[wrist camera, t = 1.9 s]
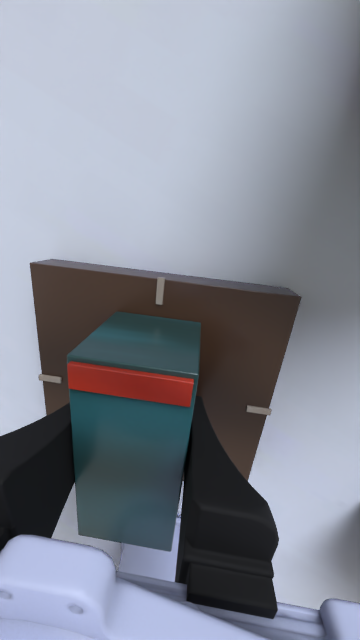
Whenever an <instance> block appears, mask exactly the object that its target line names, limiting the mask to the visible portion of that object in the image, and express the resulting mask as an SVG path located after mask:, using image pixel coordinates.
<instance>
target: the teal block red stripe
mask: <svg viewBox="0 0 360 640" xmlns="http://www.w3.org/2000/svg"><path fill="white" fill-rule="evenodd" d="M200 337H201V323H200V322H192V321H185V320H177V319H170V318H163V317H155V316H148V315H140V314H133V313H125V312H118V311H117V312H115V313H114V314H113V315H112V316H111V317H110V318H108V319H107V320H106V321H105V322H104V323H103V324H102V325H100V326H99V327H98V328H97V329H96V330H95V331H94V332H93V333H91V334H90V335H89V336H88V337H87V338H86V339H85V340H83V341H82V342H81V343H80V344H79V345H78V346H77V347H76V348H74V349H73V350H72V351H71V352H70V353H69V354H68V355H67V370H68V385H69V397H70V412H71V427H72V442H73V458H74V473H75V488H76V503H77V518H78V534H79V535H82V536H87V537H93V538H98V539H104V540H109V541H114V542H120V543H125V544H130V545H136V546H141V547H146V548H152V549H157V550H162V551H168V552H171V550H172V544H173V537H174V531H175V525H176V518H177V512H178V506H179V499H180V493H181V486H182V480H183V474H184V467H185V461H186V455H187V448H188V442H189V436H190V429H191V423H192V417H193V410H194V404H195V398H196V391H197V385H198V379H199V364H200Z"/></svg>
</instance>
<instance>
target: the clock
mask: <svg viewBox="0 0 360 640" xmlns="http://www.w3.org/2000/svg"><path fill="white" fill-rule="evenodd" d="M30 269H31V278H32V287H33V296H34V306H35V315H36V324H37V333H38V342H39V351H40V360H41V369H42V374H40V375H39V380H42V381H43V387H44V396H45V405H46V414H47V415H49V414H51V413H53V412H55V411H56V410H58V409H60V408H61V407H63V406H64V405H66V404H68V403H69V402H70V397H69V385H68V370H67V355H68V354H69V353H70V352H71V351H72V350H73V349H74V348H76V347H77V346H78V345H79V344H80V343H81V342H82V341H83V340H85V339H86V338H87V337H88V336H89V335H90V334H91V333H93V332H94V331H95V330H96V329H97V328H98V327H99V326H100V325H102V324H103V323H104V322H105V321H106V320H107V319H108V318H110V317H111V316H112V315H113V314H114V313H115V312H117V311H118V312H125V313H133V314H140V315H148V316H155V317H163V318H170V319H177V320H185V321H192V322H200V323H201V337H200V364H199V379H198V385H197V391H196V396H201V397H202V398H203V403H204V406H205V410H206V412H207V415H208V418H209V420H210V422H211V425H212V427H213V429H214V431H215V433H216V435H217V437H218V439H219V441H220V443H221V445H222V446H223V448H224V450H225V451H226V453H227V455H228V456H229V458H230V459H231V461H232V462H233V463H234V465H235V466H236V467H237V469H238V470H239V471H240V473H241V474H242V475H243V477H244V478H245V479H246V480H247V481H248V478H249V474H250V471H251V467H252V464H253V461H254V457H255V454H256V450H257V447H258V444H259V440H260V437H261V433H262V430H263V426H264V423H265V420H266V416H267V415H270V414H271V409H269V406H270V403H271V399H272V396H273V392H274V389H275V385H276V382H277V379H278V375H279V372H280V368H281V365H282V362H283V358H284V355H285V351H286V348H287V344H288V341H289V338H290V334H291V331H292V327H293V324H294V321H295V317H296V314H297V310H298V307H299V304H300V300H301V296H299V295H298V294H296V293H294V292H293V291H291V290H290V289H288V288H282V287H274V286H266V285H258V284H250V283H242V282H234V281H226V280H217V279H209V278H201V277H193V276H185V275H177V274H169V273H161V272H153V271H145V270H137V269H129V268H121V267H113V266H104V265H96V264H88V263H80V262H72V261H64V260H56V259H50V260H44V261H38V262H32V263H30ZM182 481H184V474H183V480H182Z"/></svg>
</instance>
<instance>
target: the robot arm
mask: <svg viewBox="0 0 360 640" xmlns="http://www.w3.org/2000/svg"><path fill="white" fill-rule="evenodd" d="M74 482H75V473H74V458H73V442H72V427H71V412H70V402H69V403H68V404H66V405H64V406H63V407H61V408H60V409H58V410H56V411H55V412H53V413H51V414H49V415H47V416H46V417H44V418H42V419H40V420H38V421H36V422H34V423H31V424H29V425H27V426H25V427H22V428H20V429H18V430H15V431H13V432H10V433H8V434H5V435H2V436H0V640H360V603H356V602H351V601H345V600H340V599H327V600H325V601H324V602H323V603H322V605H321V607H320V610H316V609H310V608H305V607H300V606H295V605H290V604H285V603H279V602H276V597H275V592H274V586H273V581H272V578H273V577H274V572H273V567H272V562H271V560H272V558H273V555H274V553H275V551H276V548H277V546H278V541H279V537H278V532H277V528H276V525H275V522H274V519H273V516H272V513H271V511H270V508H269V506H268V503H267V502H266V500H265V499H264V498H263V497H262V496H261V495H260V494H259V493H258V492H257V491H256V490H255V489H254V488H253V487H252V486H251V485H250V484H249V483H248V481H247V480H246V479H245V478H244V477H243V475H242V474H241V473H240V471H239V470H238V469H237V467H236V466H235V465H234V463H233V462H232V461H231V459H230V458H229V456H228V455H227V453H226V451H225V450H224V448H223V446H222V445H221V443H220V441H219V439H218V437H217V435H216V433H215V431H214V429H213V427H212V425H211V422H210V420H209V418H208V415H207V412H206V410H205V406H204V403H203V398H202V397H201V396H196V398H195V404H194V410H193V417H192V423H191V429H190V436H189V442H188V448H187V455H186V461H185V467H184V490H183V501H182V512H181V518H176V525H175V531H174V537H173V544H172V550H171V552H168V551H162V550H157V549H152V548H146V547H141V546H136V545H130V544H125V543H121V561H120V565H119V569H118V571H116V567H115V565H114V562H113V560H112V558H111V557H110V556H109V555H108V554H107V553H105V552H104V551H103V550H101V549H98V548H95V547H92V546H89V545H83V544H78V543H73V542H67V541H62V540H57V539H52V538H51V537H52V535H53V532H54V530H55V527H56V525H57V522H58V520H59V517H60V515H61V512H62V510H63V508H64V505H65V503H66V501H67V498H68V496H69V494H70V491H71V489H72V487H73V484H74Z"/></svg>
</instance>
